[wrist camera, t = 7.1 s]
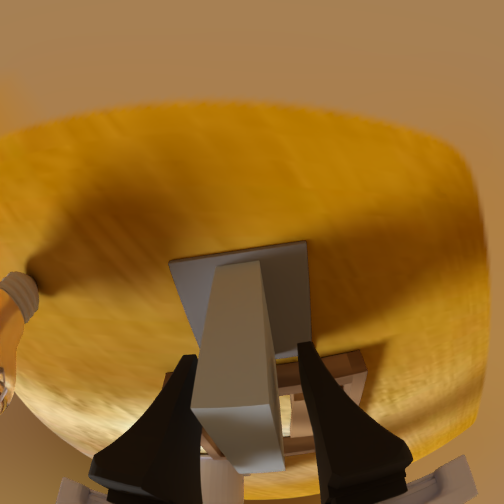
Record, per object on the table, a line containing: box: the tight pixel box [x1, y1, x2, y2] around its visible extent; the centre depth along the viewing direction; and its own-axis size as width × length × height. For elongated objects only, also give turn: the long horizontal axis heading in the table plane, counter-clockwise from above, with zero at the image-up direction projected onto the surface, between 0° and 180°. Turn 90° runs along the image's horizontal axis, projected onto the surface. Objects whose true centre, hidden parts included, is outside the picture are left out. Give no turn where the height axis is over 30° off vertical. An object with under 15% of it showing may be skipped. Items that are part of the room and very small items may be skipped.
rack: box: [162, 350, 368, 460], centre depth 20 cm, size 14×14×2 cm
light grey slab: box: [190, 260, 286, 474], centre depth 12 cm, size 7×2×8 cm, turn 9°
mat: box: [168, 241, 312, 359], centre depth 15 cm, size 8×7×1 cm
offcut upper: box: [290, 393, 313, 438], centre depth 20 cm, size 7×3×1 cm, turn 4°
